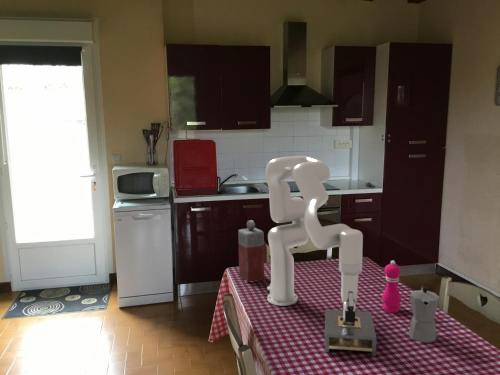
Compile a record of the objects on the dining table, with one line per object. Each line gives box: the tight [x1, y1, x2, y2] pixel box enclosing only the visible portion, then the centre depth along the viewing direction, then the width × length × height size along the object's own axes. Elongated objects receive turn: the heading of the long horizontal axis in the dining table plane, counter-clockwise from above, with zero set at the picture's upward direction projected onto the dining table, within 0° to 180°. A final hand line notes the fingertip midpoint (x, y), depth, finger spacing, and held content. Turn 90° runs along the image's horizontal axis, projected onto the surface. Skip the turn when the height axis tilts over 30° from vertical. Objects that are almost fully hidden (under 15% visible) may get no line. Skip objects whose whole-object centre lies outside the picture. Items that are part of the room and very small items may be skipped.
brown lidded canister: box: [237, 219, 268, 282], centre depth 207 cm, size 9×11×28 cm
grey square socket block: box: [324, 308, 377, 357], centre depth 152 cm, size 18×16×7 cm
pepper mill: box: [381, 260, 402, 314], centre depth 173 cm, size 7×7×20 cm
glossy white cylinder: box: [342, 300, 355, 326], centre depth 151 cm, size 4×4×14 cm
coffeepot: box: [407, 285, 440, 344], centre depth 154 cm, size 15×9×18 cm, turn 163°
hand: (349, 316), depth 151 cm, fingers open, 7 cm apart
